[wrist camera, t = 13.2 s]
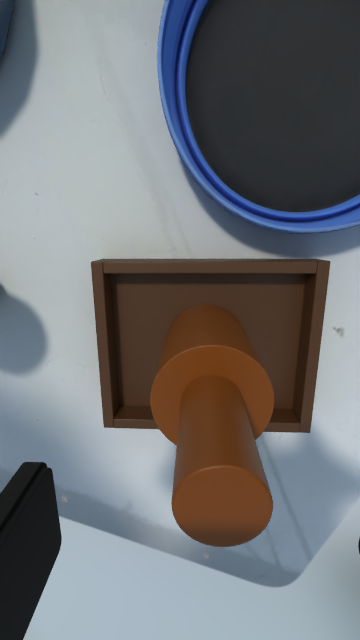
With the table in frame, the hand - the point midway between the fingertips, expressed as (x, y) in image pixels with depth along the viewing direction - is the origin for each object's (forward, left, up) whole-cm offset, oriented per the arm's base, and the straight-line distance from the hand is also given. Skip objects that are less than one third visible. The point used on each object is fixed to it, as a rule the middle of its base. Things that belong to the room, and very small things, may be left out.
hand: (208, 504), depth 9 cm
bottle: (0, 0, -15) cm, 15 cm away
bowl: (+6, +17, -16) cm, 24 cm away
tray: (0, 0, -16) cm, 16 cm away
